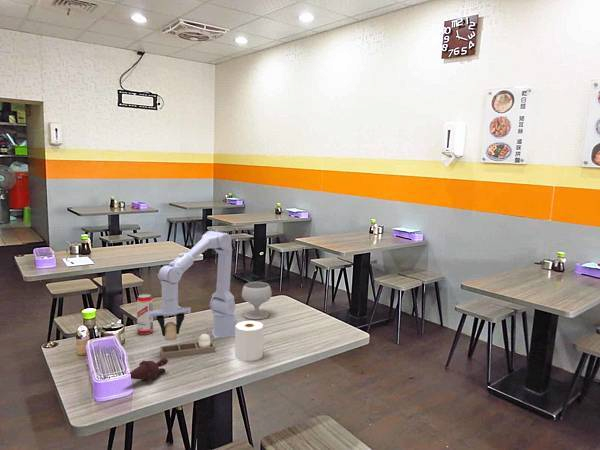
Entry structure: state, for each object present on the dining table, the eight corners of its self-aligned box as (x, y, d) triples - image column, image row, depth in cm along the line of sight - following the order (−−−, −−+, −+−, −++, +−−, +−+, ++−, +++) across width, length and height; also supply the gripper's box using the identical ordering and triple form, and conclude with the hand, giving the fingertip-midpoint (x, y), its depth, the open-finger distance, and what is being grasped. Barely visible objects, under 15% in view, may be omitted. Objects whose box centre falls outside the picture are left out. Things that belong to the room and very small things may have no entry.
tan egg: (175, 335, 165) (175, 319, 164) (177, 339, 161) (177, 323, 160) (163, 336, 163) (163, 320, 162) (165, 341, 159) (164, 324, 158)
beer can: (148, 336, 180) (147, 298, 178) (134, 334, 181) (133, 297, 179) (156, 330, 186) (155, 294, 184) (142, 329, 187) (141, 293, 185)
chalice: (276, 313, 211) (277, 283, 209) (261, 322, 199) (262, 290, 197) (251, 309, 217) (251, 279, 215) (235, 317, 204) (236, 286, 202)
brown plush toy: (132, 374, 134) (174, 362, 146) (120, 361, 139) (162, 351, 150) (127, 393, 136) (170, 380, 147) (117, 380, 140) (158, 368, 152)
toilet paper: (266, 352, 168) (266, 321, 166) (258, 363, 158) (258, 331, 156) (240, 349, 170) (241, 319, 168) (231, 360, 160) (231, 328, 158)
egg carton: (212, 345, 172) (212, 339, 172) (215, 353, 165) (215, 347, 165) (160, 352, 165) (159, 346, 164) (161, 360, 158) (161, 354, 158)
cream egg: (209, 346, 170) (209, 331, 169) (211, 351, 166) (211, 335, 165) (197, 348, 168) (197, 332, 168) (199, 352, 164) (199, 336, 164)
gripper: (188, 293, 166) (188, 327, 168) (148, 297, 160) (148, 332, 162) (191, 298, 160) (192, 334, 162) (149, 302, 154) (150, 339, 156)
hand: (170, 334), depth 162 cm, fingers closed on tan egg, 4 cm apart
